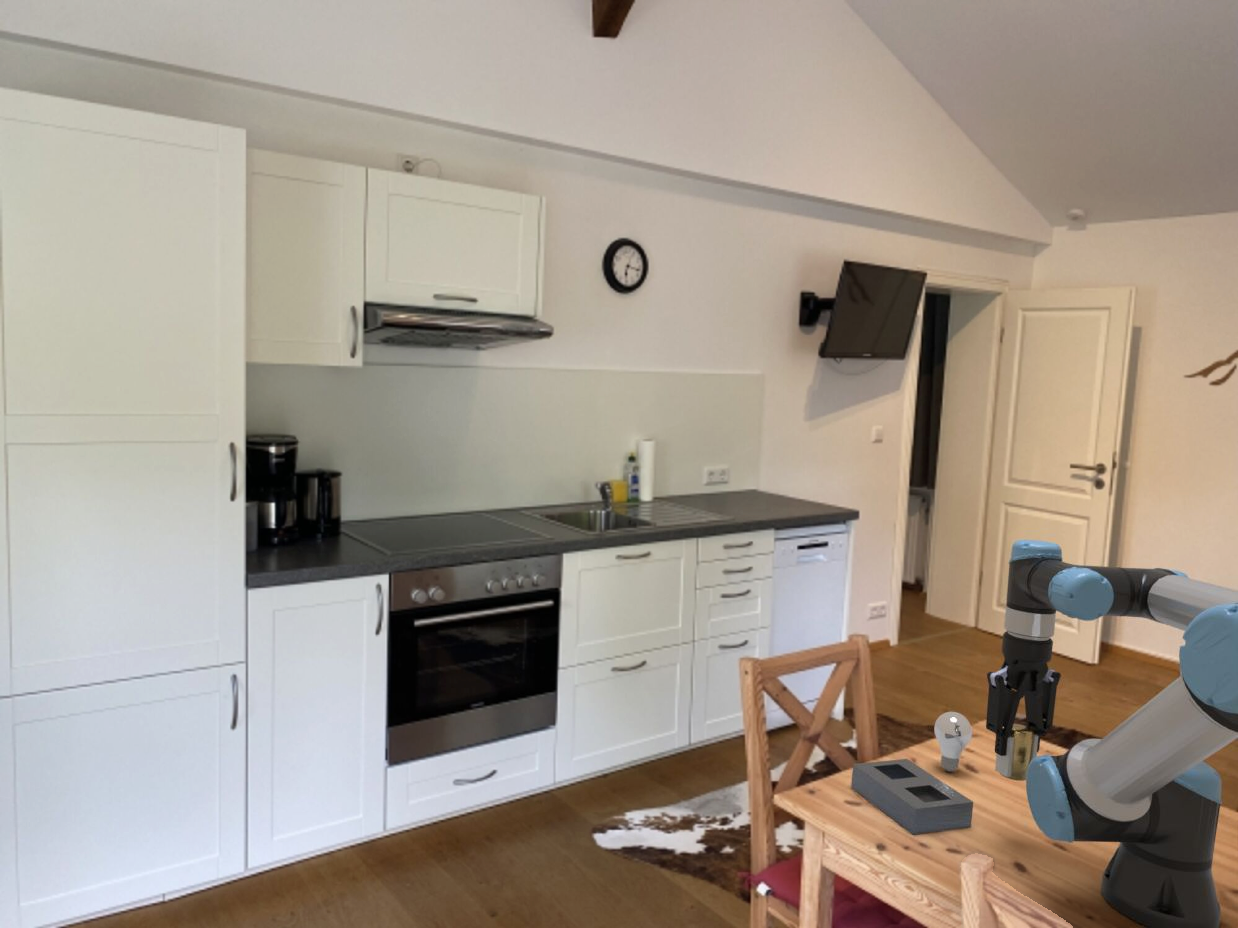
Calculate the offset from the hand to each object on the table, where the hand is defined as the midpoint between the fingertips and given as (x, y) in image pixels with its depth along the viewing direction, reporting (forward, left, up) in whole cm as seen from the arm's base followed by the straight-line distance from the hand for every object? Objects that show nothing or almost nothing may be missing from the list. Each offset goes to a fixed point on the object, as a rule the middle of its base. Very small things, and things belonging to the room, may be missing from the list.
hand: (1014, 771), depth 151 cm
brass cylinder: (0, 0, -1) cm, 1 cm away
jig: (+14, +9, -12) cm, 21 cm away
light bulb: (+25, -9, -12) cm, 30 cm away
